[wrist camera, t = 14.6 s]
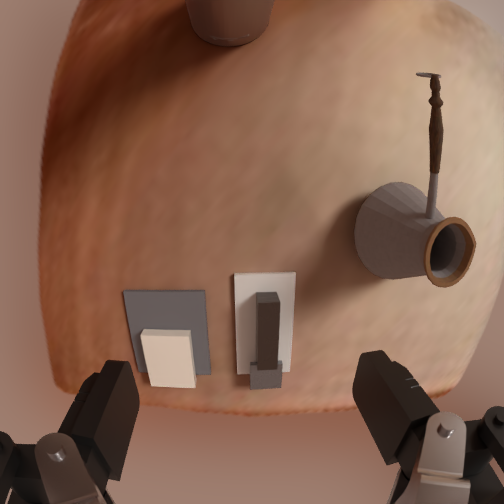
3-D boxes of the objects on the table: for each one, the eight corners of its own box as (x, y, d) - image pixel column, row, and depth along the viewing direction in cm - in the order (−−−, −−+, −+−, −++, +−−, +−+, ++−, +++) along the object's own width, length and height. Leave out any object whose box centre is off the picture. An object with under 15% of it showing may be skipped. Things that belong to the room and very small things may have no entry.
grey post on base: (248, 292, 34) (250, 303, 31) (283, 291, 35) (287, 301, 32) (249, 380, 37) (250, 394, 35) (279, 379, 38) (282, 393, 35)
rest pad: (234, 273, 34) (234, 274, 34) (294, 271, 35) (295, 273, 34) (237, 371, 38) (237, 374, 37) (289, 369, 38) (289, 371, 38)
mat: (124, 289, 34) (123, 291, 33) (204, 289, 34) (204, 291, 34) (140, 369, 37) (139, 372, 36) (211, 371, 37) (210, 374, 37)
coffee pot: (425, 258, 36) (501, 298, 21) (353, 282, 36) (415, 343, 21) (398, 99, 30) (478, 71, 16) (316, 108, 30) (374, 66, 16)
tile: (140, 335, 33) (151, 385, 35) (188, 336, 33) (195, 387, 35) (144, 328, 35) (153, 378, 37) (190, 329, 35) (196, 379, 37)
